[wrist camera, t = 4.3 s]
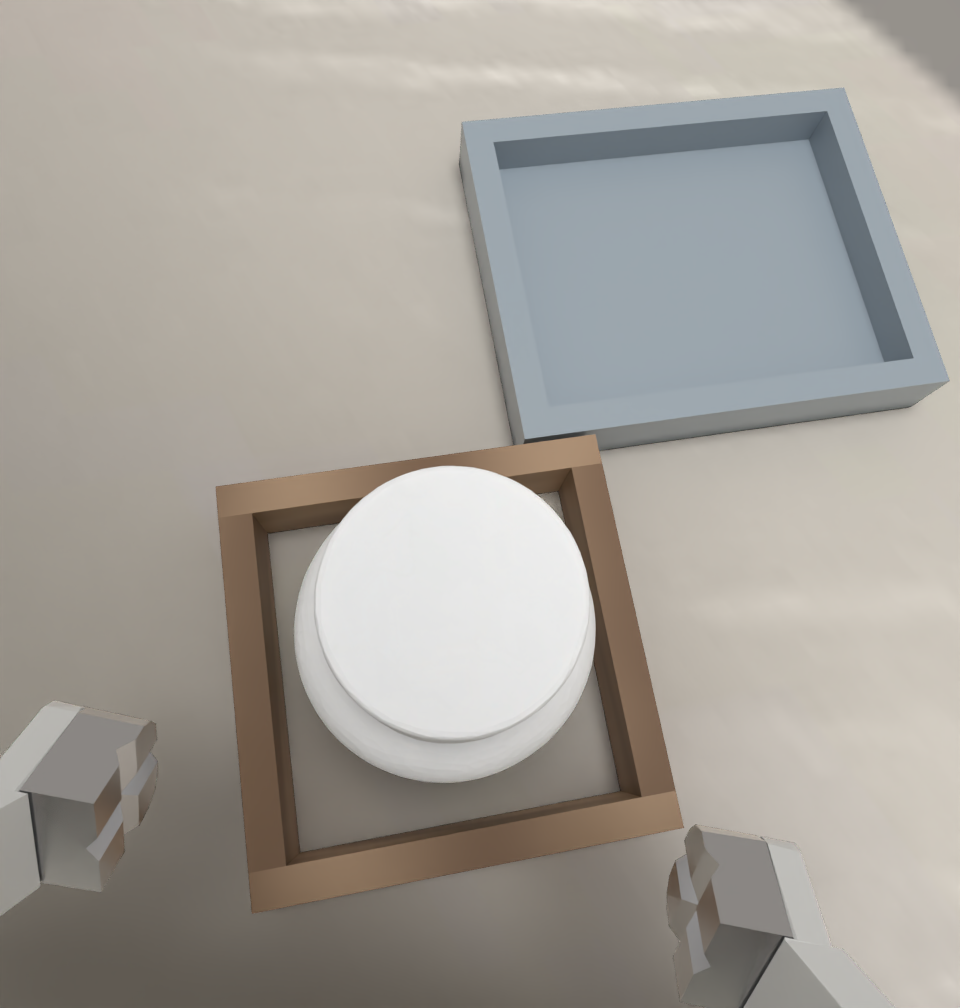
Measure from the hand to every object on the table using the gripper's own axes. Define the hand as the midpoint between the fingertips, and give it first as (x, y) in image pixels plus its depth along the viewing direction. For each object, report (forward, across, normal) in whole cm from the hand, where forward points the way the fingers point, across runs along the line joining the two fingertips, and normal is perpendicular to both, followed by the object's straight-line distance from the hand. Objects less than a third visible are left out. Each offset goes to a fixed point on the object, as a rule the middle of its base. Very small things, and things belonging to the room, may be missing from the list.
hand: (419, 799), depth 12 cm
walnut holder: (+8, 0, +4) cm, 9 cm away
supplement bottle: (+8, 0, +4) cm, 9 cm away
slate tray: (+17, -5, -5) cm, 18 cm away
